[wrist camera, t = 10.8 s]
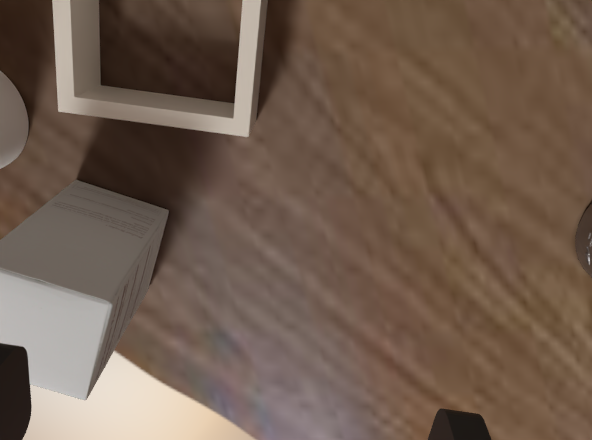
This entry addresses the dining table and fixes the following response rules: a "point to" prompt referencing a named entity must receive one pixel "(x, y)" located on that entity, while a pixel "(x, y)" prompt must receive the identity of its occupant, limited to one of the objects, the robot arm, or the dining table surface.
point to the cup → (11, 122)
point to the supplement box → (76, 282)
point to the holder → (141, 104)
